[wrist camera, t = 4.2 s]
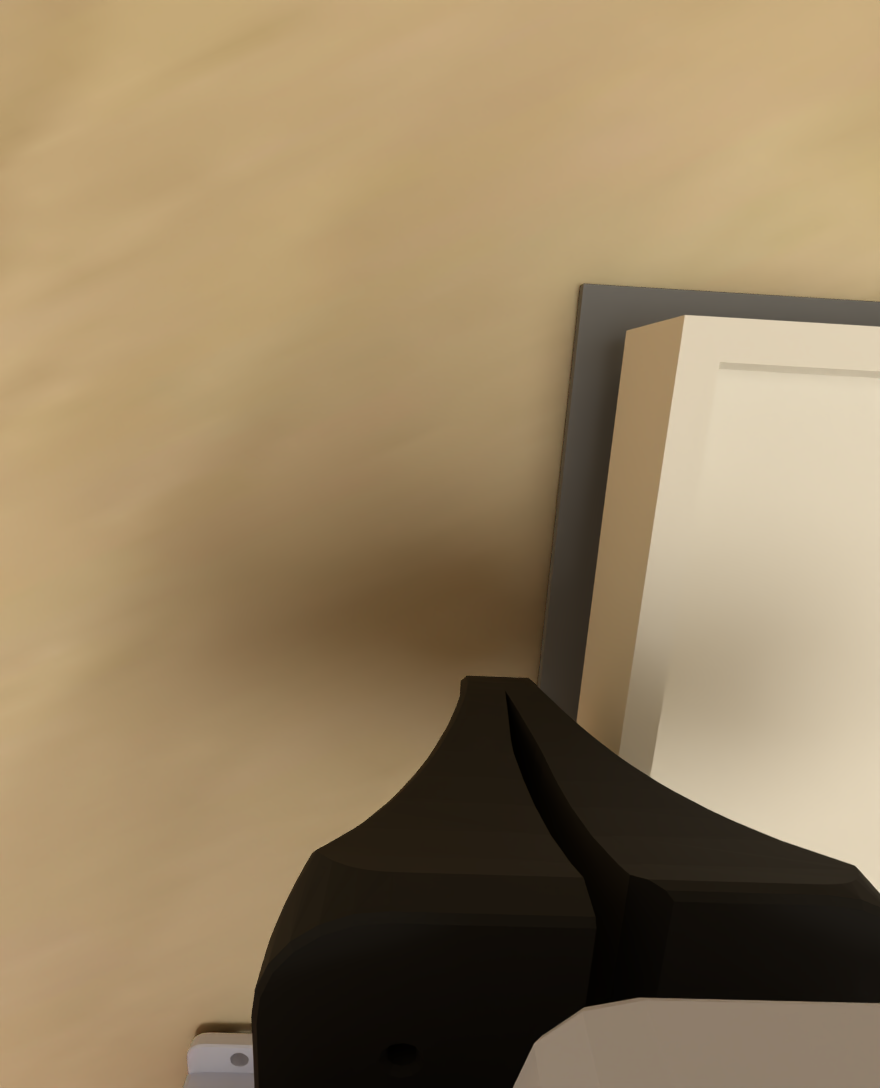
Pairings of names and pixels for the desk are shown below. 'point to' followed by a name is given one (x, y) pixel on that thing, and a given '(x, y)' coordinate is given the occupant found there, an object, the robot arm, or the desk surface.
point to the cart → (746, 577)
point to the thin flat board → (592, 433)
